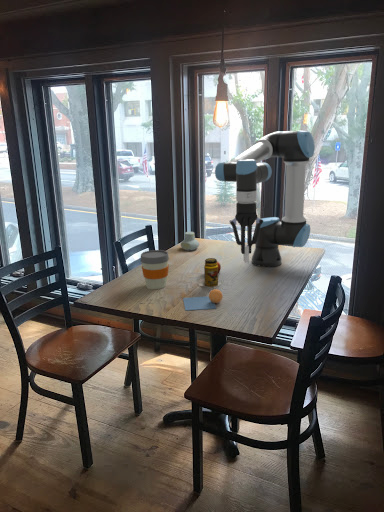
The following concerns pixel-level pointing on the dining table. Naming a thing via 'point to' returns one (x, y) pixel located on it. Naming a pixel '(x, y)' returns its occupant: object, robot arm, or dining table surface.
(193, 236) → the air freshener
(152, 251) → the reusable coffee cup
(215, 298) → the ball
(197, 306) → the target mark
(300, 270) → the dining table surface
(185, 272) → the dining table surface
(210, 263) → the condiment
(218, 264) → the fruit
